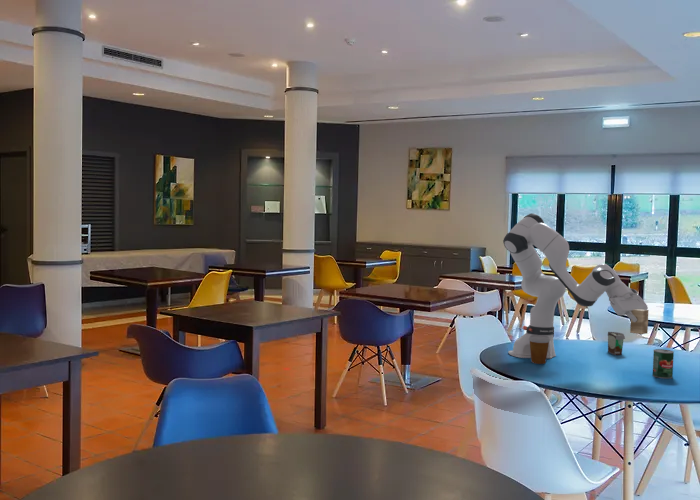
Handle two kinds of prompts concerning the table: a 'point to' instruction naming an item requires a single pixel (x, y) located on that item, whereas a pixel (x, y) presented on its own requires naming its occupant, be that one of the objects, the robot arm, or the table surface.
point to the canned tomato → (663, 363)
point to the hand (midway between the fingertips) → (640, 320)
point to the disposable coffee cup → (539, 348)
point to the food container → (615, 343)
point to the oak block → (639, 322)
